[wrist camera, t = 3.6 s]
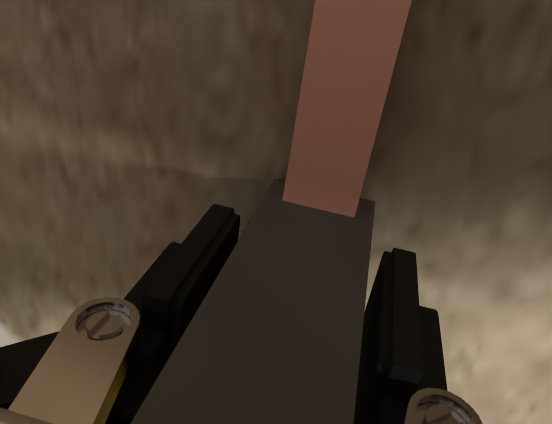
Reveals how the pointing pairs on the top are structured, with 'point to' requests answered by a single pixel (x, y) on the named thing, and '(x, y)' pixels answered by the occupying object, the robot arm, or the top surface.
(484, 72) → the top surface
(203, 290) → the robot arm
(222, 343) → the rake
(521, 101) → the top surface
